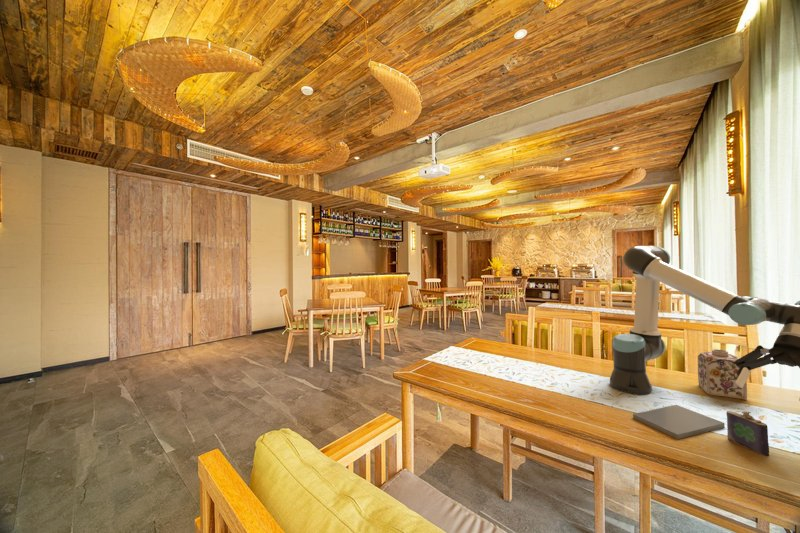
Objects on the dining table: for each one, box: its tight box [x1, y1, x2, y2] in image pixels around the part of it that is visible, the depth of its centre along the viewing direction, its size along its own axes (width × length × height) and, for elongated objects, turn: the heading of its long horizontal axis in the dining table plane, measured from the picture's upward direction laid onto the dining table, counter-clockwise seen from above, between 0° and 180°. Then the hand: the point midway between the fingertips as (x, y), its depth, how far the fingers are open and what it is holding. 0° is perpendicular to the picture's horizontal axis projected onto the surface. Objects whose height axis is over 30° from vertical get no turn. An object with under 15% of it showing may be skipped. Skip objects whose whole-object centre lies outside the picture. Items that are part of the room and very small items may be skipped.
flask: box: [725, 410, 770, 457], centre depth 89 cm, size 9×3×11 cm, turn 8°
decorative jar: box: [697, 348, 748, 401], centre depth 125 cm, size 12×12×18 cm
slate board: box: [632, 404, 725, 440], centre depth 103 cm, size 14×22×2 cm, turn 105°
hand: (768, 393), depth 92 cm, fingers open, 13 cm apart
